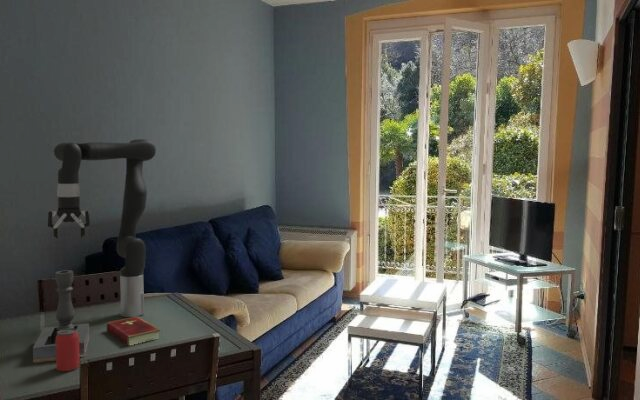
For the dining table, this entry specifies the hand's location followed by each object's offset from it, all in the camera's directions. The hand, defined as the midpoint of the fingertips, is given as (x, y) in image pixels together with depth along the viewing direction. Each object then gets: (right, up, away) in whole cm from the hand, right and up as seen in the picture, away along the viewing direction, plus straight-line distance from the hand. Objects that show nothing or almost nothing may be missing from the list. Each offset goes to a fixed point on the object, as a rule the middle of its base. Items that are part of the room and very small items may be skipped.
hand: (69, 237), depth 190 cm
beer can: (+16, -39, -33) cm, 53 cm away
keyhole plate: (+6, -38, -17) cm, 42 cm away
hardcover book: (+25, -37, -2) cm, 45 cm away
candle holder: (+5, -36, -12) cm, 38 cm away
